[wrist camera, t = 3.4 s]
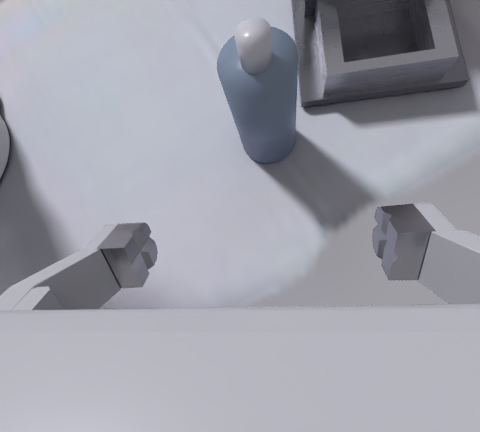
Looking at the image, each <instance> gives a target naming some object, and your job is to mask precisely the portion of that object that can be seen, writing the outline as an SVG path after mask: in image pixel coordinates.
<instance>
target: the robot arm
mask: <svg viewBox="0 0 480 432" xmlns="http://www.w3.org/2000/svg"><path fill="white" fill-rule="evenodd" d="M9 147H10V141H9V133H8V129H7V127H6V124H5V122H4V121H3V119H2V117H1V115H0V178H1V176H2V174H3V172H4V169H5V167H6V163H7V160H8V155H9ZM375 219H376V221H377V223H378V225H377V226H376V227H375V228H374V229H373V246H374V250H375V253H376V255H377V256H378V257H379V258H381V259H382V268H383V270H384V272H385V274H386V276H387V278H388V280H418V281H419V282H420V283H421V284H423V285H424V286H425V287H427V288H428V289H429V290H431V291H432V292H433V293H435V294H436V295H438V296H439V297H440V298H442V299H443V300H444V301H446V302H447V303H448V304H430V305H359V306H358V305H356V306H285V307H218V308H146V309H98V308H100V307H101V306H102V305H103V304H104V303H105V302H107V301H108V300H109V299H110V298H111V297H112V296H114V295H115V294H116V293H117V292H118V291H119V290H120V288H134V287H143V285H144V283H145V281H146V279H147V277H148V275H149V272H148V269H149V268H151V267H152V266H154V264H155V262H156V260H157V253H158V252H157V246H156V243H155V241H154V240H152V239H151V238H150V237H149V236H150V234H151V230H150V228H149V226H148V224H146V223H123V224H109V225H105V226H104V227H103V229H102V230H101V231H100V232H99V233H98V234H97V235H96V236H95V237H94V238H93V240H92V241H91V242H90V243H89V244H88V245H87V246H86V247H85V248H84V249H83V250H79V251H77V252H75V253H73V254H71V255H69V256H67V257H65V258H63V259H62V260H60V261H58V262H56V263H54V264H52V265H50V266H48V267H46V268H44V269H43V270H41V271H39V272H37V273H35V274H33V275H31V276H29V277H27V278H25V279H24V280H22V281H20V282H18V283H16V284H14V285H12V286H10V287H9V288H8V289H7V290H6V291H5V292H4V293H3V294H2V295H0V432H480V236H478V235H475V234H472V233H470V232H467V231H464V230H457V229H456V228H455V227H454V226H453V225H452V224H451V223H450V222H449V221H448V220H447V219H446V218H445V217H444V216H443V215H442V214H441V213H440V212H439V211H438V210H437V209H436V208H435V207H434V206H433V205H432V204H431V203H428V202H425V203H416V204H406V205H395V206H384V207H377V209H376V213H375Z"/></svg>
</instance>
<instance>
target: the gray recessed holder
mask: <svg viewBox="0 0 480 432" xmlns="http://www.w3.org/2000/svg"><path fill="white" fill-rule="evenodd" d="M292 9H293V20H294V31H295V42H296V47H297V50H298V75H299V86H300V96H301V107H306V106H314V105H322V104H329V103H337V102H345V101H352V100H360V99H368V98H376V97H383V96H391V95H399V94H406V93H414V92H422V91H430V90H437V89H445V88H453V87H460V86H464V85H465V84H466V83H467V82H468V80H469V78H468V74H467V70H466V66H465V62H464V58H463V54H462V50H461V46H460V42H459V38H458V34H457V30H456V26H455V22H454V18H453V14H452V10H451V6H450V2H449V0H292Z"/></svg>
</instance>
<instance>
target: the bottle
mask: <svg viewBox="0 0 480 432" xmlns="http://www.w3.org/2000/svg"><path fill="white" fill-rule="evenodd" d="M217 71H218V75H219V78H220V81H221V84H222V87H223V90H224V92H225V95H226V98H227V101H228V104H229V107H230V110H231V112H232V115H233V118H234V121H235V124H236V127H237V130H238V132H239V135H240V138H241V141H242V144H243V147H244V149H245V152H246V153H247V154H248V156H249V157H251V158H252V159H253V160H255V161H257V162H260V163H274V162H277V161H280V160H282V159H283V158H285V157H286V156H287V155H288V154H289V153H290V151H291V150H292V148H293V146H294V142H295V126H296V100H297V75H298V50H297V47H296V44H295V42H294V41H293V39H292V38H291V37H290V36H289V35H288V34H287V33H285V32H284V31H282V30H280V29H278V28H274V27H270V25H269V23H268V22H267V21H266V20H265V19H263V18H259V17H252V18H248V19H246V20H244V21H242V22H241V23H240V24H239V25H238V26H237V28H236V30H235V33H234V36H233V37H232V38H231V39H230V40H229V41H228V42H227V43H226V44H225V45H224V46H223V48H222V50H221V52H220V54H219V57H218V61H217Z"/></svg>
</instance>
